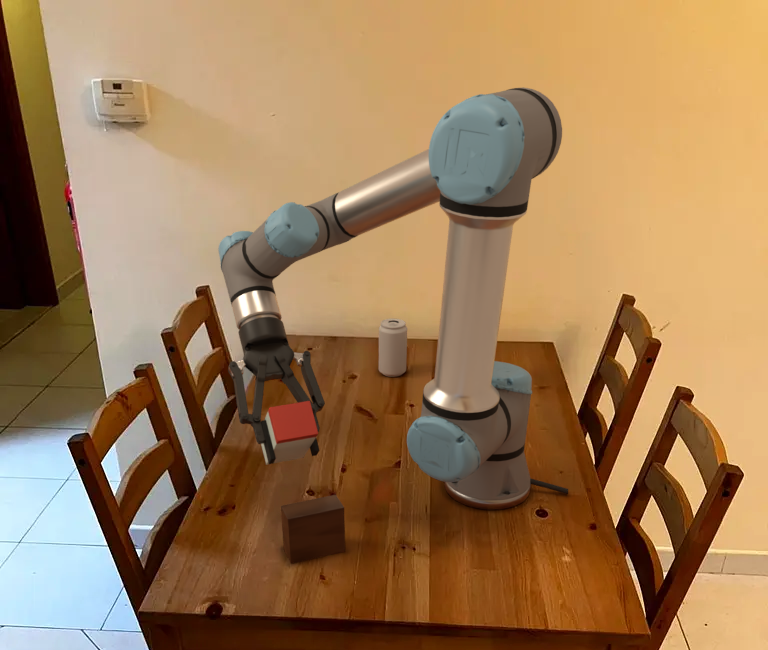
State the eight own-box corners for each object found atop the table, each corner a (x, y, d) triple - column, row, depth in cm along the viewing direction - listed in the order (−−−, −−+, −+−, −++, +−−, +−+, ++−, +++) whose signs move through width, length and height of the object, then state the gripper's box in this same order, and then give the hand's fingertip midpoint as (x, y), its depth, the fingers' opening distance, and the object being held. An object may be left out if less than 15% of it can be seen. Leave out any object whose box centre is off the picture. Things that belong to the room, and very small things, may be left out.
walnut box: (283, 549, 131) (280, 505, 126) (337, 538, 134) (335, 494, 129) (290, 563, 128) (287, 519, 123) (345, 551, 131) (344, 507, 126)
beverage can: (407, 367, 192) (408, 317, 185) (405, 378, 187) (406, 328, 180) (380, 366, 193) (380, 316, 186) (377, 377, 187) (377, 326, 181)
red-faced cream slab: (260, 454, 140) (254, 384, 133) (296, 447, 142) (292, 378, 135) (281, 491, 130) (276, 418, 123) (320, 484, 132) (317, 411, 125)
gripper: (312, 327, 142) (346, 453, 138) (199, 343, 135) (232, 475, 132) (320, 307, 135) (356, 439, 131) (202, 322, 128) (236, 461, 125)
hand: (294, 457), depth 131 cm, fingers closed on red-faced cream slab, 6 cm apart
